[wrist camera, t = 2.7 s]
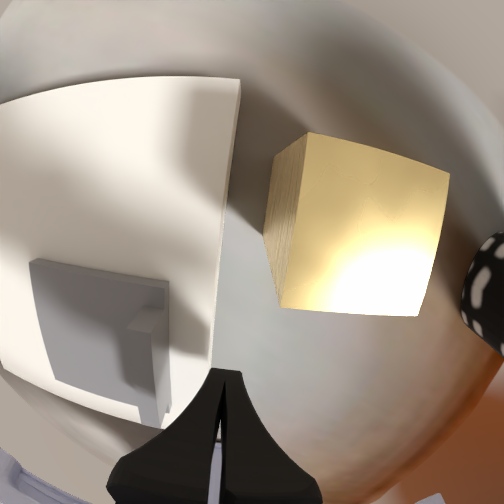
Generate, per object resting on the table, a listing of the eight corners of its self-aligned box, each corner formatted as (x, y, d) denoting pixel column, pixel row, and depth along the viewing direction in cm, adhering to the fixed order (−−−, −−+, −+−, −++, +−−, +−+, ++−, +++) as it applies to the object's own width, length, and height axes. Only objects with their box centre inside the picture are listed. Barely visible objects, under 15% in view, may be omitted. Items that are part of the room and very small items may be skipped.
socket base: (208, 410, 17) (204, 436, 15) (18, 354, 16) (3, 368, 14) (241, 95, 12) (240, 79, 10) (0, 115, 11) (-23, 113, 9)
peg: (336, 245, 14) (416, 315, 7) (262, 235, 14) (280, 307, 6) (349, 171, 13) (449, 173, 6) (273, 157, 13) (308, 131, 5)
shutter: (172, 404, 14) (162, 439, 11) (60, 372, 14) (41, 397, 11) (169, 281, 12) (149, 309, 9) (37, 257, 11) (4, 274, 9)
